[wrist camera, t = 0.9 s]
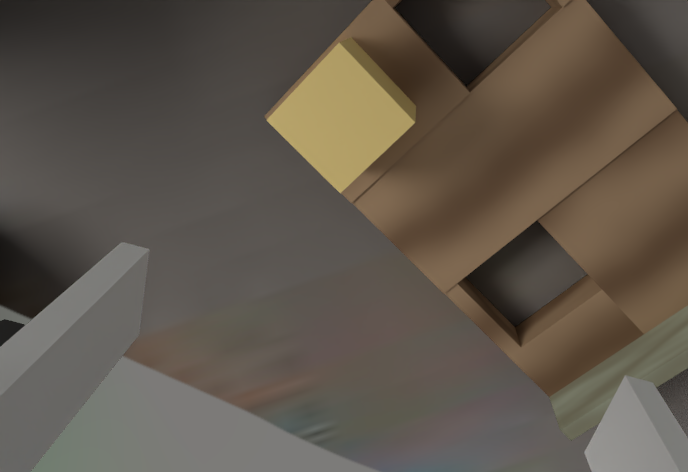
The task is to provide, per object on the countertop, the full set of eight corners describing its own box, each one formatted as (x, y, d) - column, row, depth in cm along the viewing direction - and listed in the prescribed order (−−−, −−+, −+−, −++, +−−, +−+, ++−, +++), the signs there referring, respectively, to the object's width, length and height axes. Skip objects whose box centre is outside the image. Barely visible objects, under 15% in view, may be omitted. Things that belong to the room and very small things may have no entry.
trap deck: (275, 108, 36) (250, 126, 30) (479, -111, 30) (492, -135, 25) (551, 383, 40) (570, 440, 35) (771, 236, 35) (834, 276, 30)
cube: (288, 104, 33) (266, 120, 28) (351, 37, 31) (339, 42, 26) (351, 167, 34) (340, 193, 29) (416, 105, 32) (415, 122, 27)
